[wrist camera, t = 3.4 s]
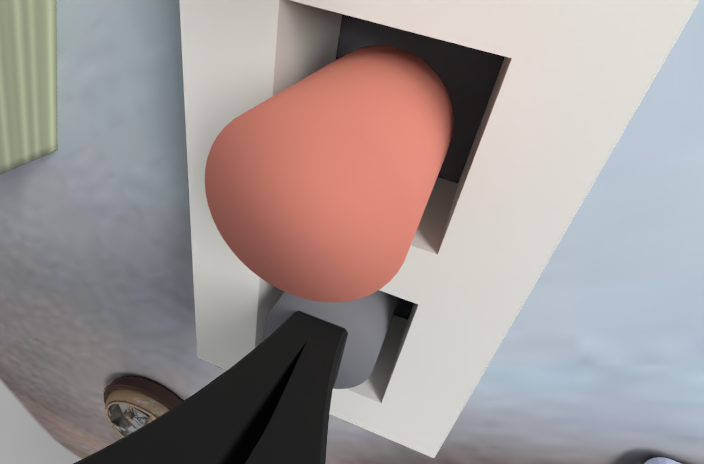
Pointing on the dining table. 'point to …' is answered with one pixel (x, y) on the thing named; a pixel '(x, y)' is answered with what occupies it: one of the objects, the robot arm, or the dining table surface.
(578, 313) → the dining table surface
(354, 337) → the gray plug
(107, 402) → the compass
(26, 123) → the hardcover book
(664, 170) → the dining table surface
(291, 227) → the red plug
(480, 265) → the socket board
